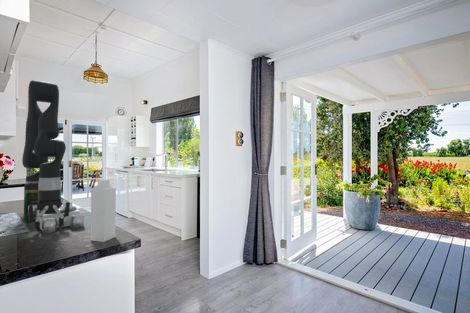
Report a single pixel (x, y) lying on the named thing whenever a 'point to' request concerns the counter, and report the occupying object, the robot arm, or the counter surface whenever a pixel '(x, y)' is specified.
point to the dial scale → (54, 215)
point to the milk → (103, 211)
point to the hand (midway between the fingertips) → (49, 228)
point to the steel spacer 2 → (77, 221)
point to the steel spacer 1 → (49, 225)
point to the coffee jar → (30, 199)
